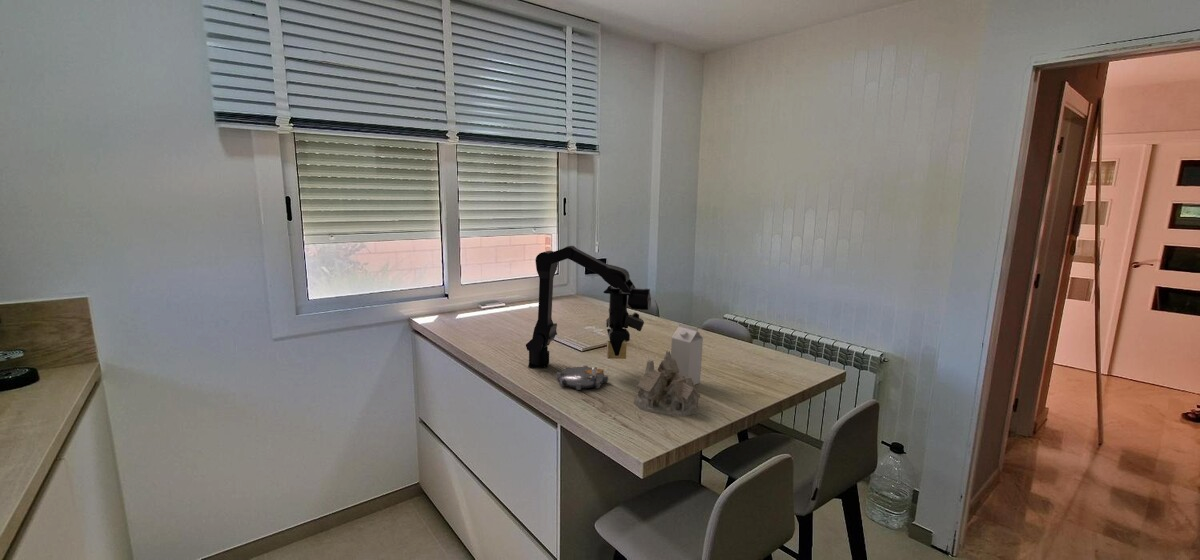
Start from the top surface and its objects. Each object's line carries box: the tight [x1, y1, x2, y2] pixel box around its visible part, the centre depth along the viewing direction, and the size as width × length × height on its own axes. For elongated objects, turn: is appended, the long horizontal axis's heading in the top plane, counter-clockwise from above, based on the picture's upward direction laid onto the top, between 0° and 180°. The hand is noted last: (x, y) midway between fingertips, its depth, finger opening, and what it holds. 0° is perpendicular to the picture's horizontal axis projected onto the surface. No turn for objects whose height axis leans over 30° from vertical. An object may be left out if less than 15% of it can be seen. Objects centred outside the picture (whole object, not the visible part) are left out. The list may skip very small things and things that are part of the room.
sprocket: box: [555, 365, 609, 391], centre depth 151 cm, size 16×16×6 cm
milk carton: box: [670, 322, 704, 386], centre depth 152 cm, size 7×7×19 cm
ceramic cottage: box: [633, 350, 701, 418], centre depth 134 cm, size 16×16×15 cm
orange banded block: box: [606, 340, 628, 360], centre depth 157 cm, size 6×4×5 cm, turn 93°
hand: (616, 353), depth 157 cm, fingers closed on orange banded block, 3 cm apart
